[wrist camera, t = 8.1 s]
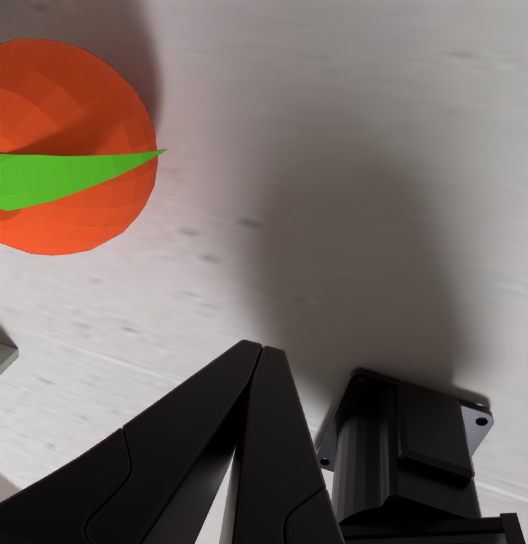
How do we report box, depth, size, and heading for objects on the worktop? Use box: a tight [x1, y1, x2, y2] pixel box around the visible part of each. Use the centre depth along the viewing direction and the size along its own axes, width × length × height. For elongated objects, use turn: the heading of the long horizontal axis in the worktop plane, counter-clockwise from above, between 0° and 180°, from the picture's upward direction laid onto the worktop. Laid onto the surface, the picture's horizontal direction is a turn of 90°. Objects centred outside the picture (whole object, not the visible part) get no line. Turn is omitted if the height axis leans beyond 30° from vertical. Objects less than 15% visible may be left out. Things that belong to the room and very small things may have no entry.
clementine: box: [0, 39, 167, 256], centre depth 16 cm, size 8×7×7 cm
